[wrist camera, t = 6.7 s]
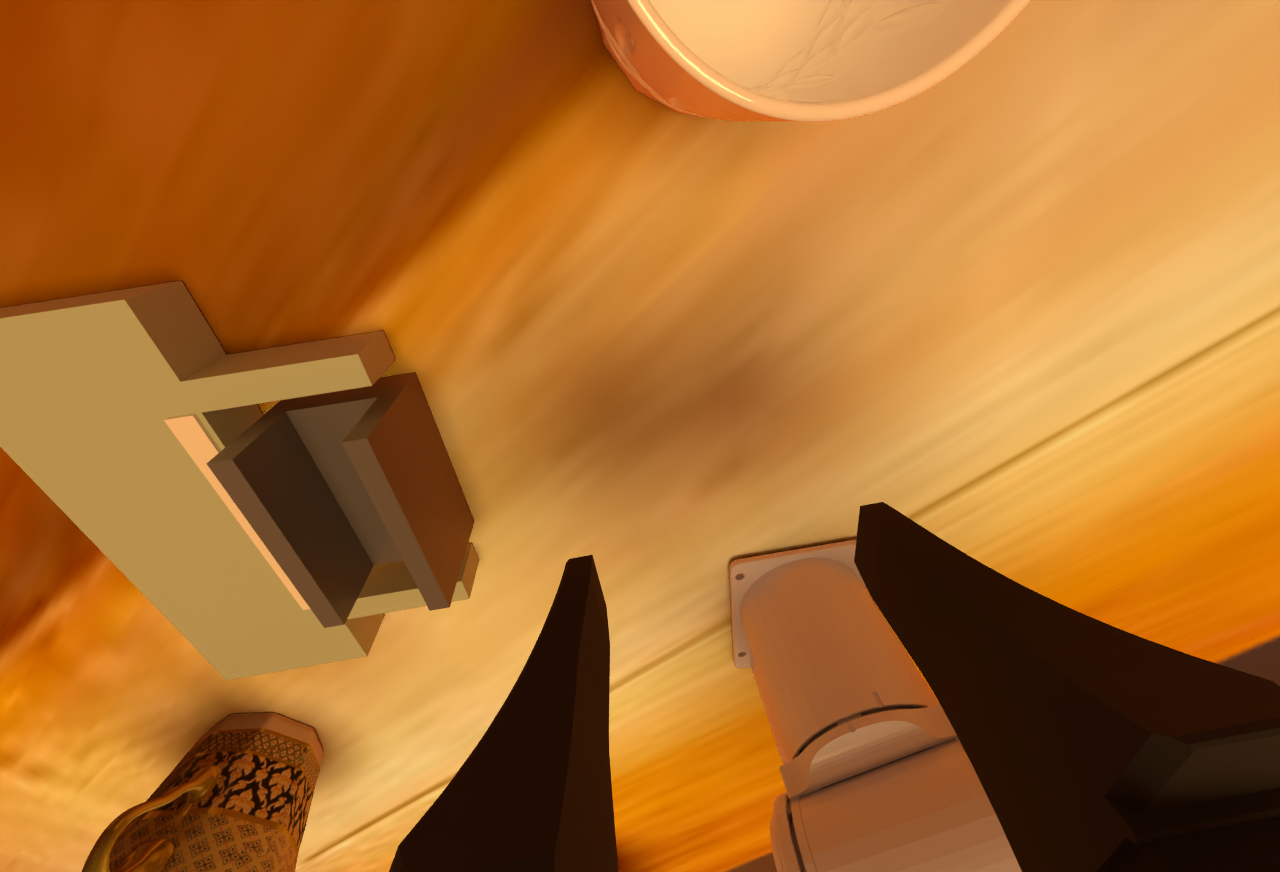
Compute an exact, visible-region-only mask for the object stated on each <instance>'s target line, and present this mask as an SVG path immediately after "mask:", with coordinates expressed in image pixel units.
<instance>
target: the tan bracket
mask: <svg viewBox="0 0 1280 872" xmlns="http://www.w3.org/2000/svg"><path fill="white" fill-rule="evenodd" d="M394 360H395V357H394V355H393V352H392V350H391V347H390V345H389V343H388V340H387V338H386V335H385V333H384V331H376V332H370V333H364V334H357V335H351V336H344V337H338V338H331V339H325V340H318V341H312V342H305V343H299V344H293V345H286V346H280V347H273V348H267V349H260V350H254V351H247V352H241V353H234V354H228V355H226V353H225V351H224V350H223V348H222V346H221V345H220V343H219V341H218V340H217V338H216V336H215V335H214V333H213V331H212V330H211V328H210V327H209V325H208V323H207V322H206V320H205V318H204V317H203V315H202V313H201V312H200V310H199V308H198V307H197V305H196V303H195V302H194V300H193V298H192V297H191V295H190V294H189V292H188V290H187V289H186V287H185V285H184V284H183V282H182V281H175V282H169V283H162V284H156V285H149V286H142V287H136V288H129V289H123V290H116V291H109V292H103V293H96V294H89V295H83V296H76V297H70V298H63V299H56V300H50V301H43V302H37V303H30V304H23V305H17V306H10V307H3V308H0V447H1V448H2V449H3V450H4V451H5V452H6V453H7V454H8V455H9V456H10V457H11V458H12V459H13V460H14V461H15V462H16V463H17V464H18V465H19V466H20V467H21V468H22V469H23V470H24V471H25V472H26V474H27V475H28V476H29V477H30V478H31V479H32V480H33V481H34V482H35V483H36V484H37V485H38V486H39V487H40V488H41V489H42V490H43V491H44V492H45V493H46V494H47V495H48V496H49V497H50V498H51V499H52V500H53V501H54V502H55V504H56V505H57V506H58V507H59V508H60V509H61V510H62V511H63V512H64V513H65V514H66V515H67V516H68V517H69V518H70V519H71V520H72V521H73V522H74V523H75V524H76V525H77V526H78V527H79V528H80V529H81V530H82V531H83V533H84V534H85V535H86V536H87V537H88V538H89V539H90V540H91V541H92V542H93V543H94V544H95V545H96V546H97V547H98V548H99V549H100V550H101V551H102V552H103V553H104V554H105V555H106V556H107V557H108V558H109V559H110V560H111V561H112V563H113V564H114V565H115V566H116V567H117V568H118V569H119V570H120V571H121V572H122V573H123V574H124V575H125V576H126V577H127V578H128V579H129V580H130V581H131V582H132V583H133V584H134V585H135V586H136V587H137V588H138V589H139V590H140V591H141V593H142V594H143V595H144V596H145V597H146V598H147V599H148V600H149V601H150V602H151V603H152V604H153V605H154V606H155V607H156V608H157V609H158V610H159V611H160V612H161V613H162V614H163V615H164V616H165V617H166V618H167V619H168V620H169V621H170V623H171V624H172V625H173V626H174V627H175V628H176V629H177V630H178V631H179V632H180V633H181V634H182V635H183V636H184V637H185V638H186V639H187V640H188V641H189V642H190V643H191V644H192V645H193V646H194V647H195V648H196V649H197V650H198V651H199V653H200V654H201V655H202V656H203V657H204V658H205V659H206V660H207V661H208V662H209V663H210V664H211V665H212V666H213V667H214V668H215V669H216V670H217V671H218V672H219V673H220V674H221V675H222V676H223V677H224V678H225V679H226V680H232V679H238V678H244V677H250V676H255V675H261V674H267V673H273V672H279V671H285V670H291V669H297V668H302V667H308V666H314V665H320V664H326V663H332V662H338V661H344V660H350V659H355V658H361V657H367V656H368V654H369V651H370V649H371V646H372V644H373V642H374V639H375V637H376V635H377V632H378V630H379V628H380V625H381V623H382V620H383V618H384V616H385V615H384V613H388V612H394V611H400V610H406V609H411V608H417V607H423V606H427V604H426V603H425V601H424V599H423V597H422V595H421V593H420V591H419V589H418V587H417V585H416V584H415V582H414V580H413V578H412V576H411V574H410V572H409V570H408V568H407V566H406V565H405V563H404V561H397V562H391V563H385V564H379V565H374V566H373V568H372V570H371V572H370V574H369V576H368V578H367V580H366V582H365V584H364V586H363V588H362V590H361V592H360V594H359V596H358V598H357V600H356V602H355V604H354V606H353V608H352V610H351V612H350V614H349V616H348V618H347V620H346V622H345V625H339V626H333V627H327V628H324V627H323V626H322V624H321V623H320V621H319V620H318V619H317V617H316V616H315V614H314V613H313V612H312V610H311V609H310V607H309V606H308V605H307V603H306V602H305V601H304V599H303V598H302V596H301V595H300V594H299V592H298V591H297V589H296V588H295V587H294V585H293V584H292V582H291V581H290V580H289V578H288V577H287V575H286V574H285V573H284V571H283V570H282V568H281V567H280V566H279V564H278V563H277V561H276V560H275V559H274V557H273V556H272V555H271V553H270V552H269V550H268V549H267V548H266V546H265V545H264V543H263V542H262V541H261V539H260V538H259V536H258V535H257V534H256V532H255V531H254V529H253V528H252V527H251V525H250V524H249V522H248V521H247V520H246V518H245V517H244V515H243V514H242V513H241V511H240V510H239V509H238V507H237V506H236V504H235V503H234V502H233V500H232V499H231V497H230V496H229V495H228V493H227V492H226V490H225V489H224V488H223V486H222V485H221V483H220V482H219V481H218V479H217V478H216V476H215V475H214V474H213V472H212V471H211V470H210V468H209V467H208V465H207V464H206V463H208V462H209V461H210V460H211V459H212V458H214V457H215V456H216V455H217V454H218V453H219V452H221V451H222V450H223V449H224V448H225V447H227V446H228V445H229V444H230V443H231V442H232V441H234V440H235V439H236V438H237V437H238V436H240V435H241V434H242V433H243V432H244V431H246V430H247V429H248V428H249V427H250V426H251V425H253V424H254V423H255V422H256V421H257V420H259V419H260V418H261V417H262V416H263V414H262V412H261V411H260V409H259V407H258V406H257V404H259V403H266V402H272V401H279V400H285V399H291V398H298V397H304V396H310V395H317V394H323V393H329V392H336V391H342V390H348V389H355V388H361V387H367V386H372V385H373V384H374V383H375V382H376V381H377V380H378V379H379V378H380V376H381V375H382V374H383V373H384V372H385V371H386V370H387V368H388V367H389V366H390V365H391V364H392V363H393V362H394ZM478 562H479V559H478V557H477V554H476V552H475V549H474V547H473V545H472V543H471V544H468V545H467V549H466V552H465V556H464V559H463V563H462V566H461V570H460V573H459V577H458V580H457V584H456V587H455V590H454V594H453V597H452V601H451V602H453V601H459V600H465V599H470V595H471V591H472V587H473V583H474V579H475V574H476V570H477V566H478Z"/></svg>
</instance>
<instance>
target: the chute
mask: <svg viewBox="0 0 1280 872" xmlns="http://www.w3.org/2000/svg"><path fill="white" fill-rule="evenodd" d="M206 464H207V465H208V467H209V468H210V470H211V471H212V472H213V474H214V475H215V476H216V478H217V479H218V481H219V482H220V483H221V485H222V486H223V488H224V489H225V490H226V492H227V493H228V495H229V496H230V497H231V499H232V500H233V502H234V503H235V504H236V506H237V507H238V509H239V510H240V511H241V513H242V514H243V515H244V517H245V518H246V520H247V521H248V522H249V524H250V525H251V527H252V528H253V529H254V531H255V532H256V534H257V535H258V536H259V538H260V539H261V541H262V542H263V543H264V545H265V546H266V548H267V549H268V550H269V552H270V553H271V555H272V556H273V557H274V559H275V560H276V561H277V563H278V564H279V566H280V567H281V568H282V570H283V571H284V573H285V574H286V575H287V577H288V578H289V580H290V581H291V582H292V584H293V585H294V587H295V588H296V589H297V591H298V592H299V594H300V595H301V596H302V598H303V599H304V601H305V602H306V603H307V605H308V606H309V607H310V609H311V610H312V612H313V613H314V614H315V616H316V617H317V619H318V620H319V621H320V623H321V624H322V626H323V627H324V628H327V627H333V626H339V625H345V622H346V620H347V618H348V616H349V614H350V612H351V610H352V608H353V606H354V604H355V602H356V600H357V598H358V596H359V594H360V592H361V590H362V588H363V586H364V584H365V582H366V580H367V578H368V576H369V574H370V572H371V570H372V568H373V566H374V565H379V564H385V563H391V562H397V561H404V563H405V565H406V566H407V568H408V570H409V572H410V574H411V576H412V578H413V580H414V582H415V584H416V585H417V587H418V589H419V591H420V593H421V595H422V597H423V599H424V601H425V603H426V604H427V606H428V608H429V610H436V609H442V608H448V607H450V604H451V601H452V597H453V594H454V590H455V587H456V584H457V580H458V577H459V573H460V570H461V566H462V563H463V559H464V556H465V552H466V549H467V545H468V542H469V538H470V535H471V531H472V528H473V524H474V519H473V516H472V514H471V511H470V509H469V506H468V504H467V501H466V499H465V496H464V493H463V491H462V488H461V486H460V483H459V481H458V478H457V476H456V473H455V471H454V468H453V466H452V463H451V461H450V458H449V456H448V453H447V450H446V448H445V445H444V443H443V440H442V438H441V435H440V433H439V430H438V428H437V425H436V423H435V420H434V418H433V415H432V412H431V410H430V407H429V405H428V402H427V400H426V397H425V395H424V392H423V390H422V387H421V385H420V382H419V380H418V377H417V375H416V372H414V373H408V374H401V375H395V376H388V377H382V378H379V379H378V380H377V381H376V382H375V383H374V384H373V385H372V386H367V387H361V388H355V389H348V390H342V391H336V392H329V393H323V394H317V395H310V396H304V397H298V398H291V399H285V400H281V401H280V402H279V403H277V404H276V405H275V406H274V407H273V408H272V409H270V410H269V411H268V412H267V413H266V414H264V415H263V416H262V417H261V418H260V419H259V420H257V421H256V422H255V423H254V424H253V425H251V426H250V427H249V428H248V429H247V430H246V431H244V432H243V433H242V434H241V435H240V436H238V437H237V438H236V439H235V440H234V441H232V442H231V443H230V444H229V445H228V446H227V447H225V448H224V449H223V450H222V451H221V452H219V453H218V454H217V455H216V456H215V457H214V458H212V459H211V460H210V461H209V462H208V463H206Z"/></svg>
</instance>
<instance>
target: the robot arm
mask: <svg viewBox="0 0 1280 872" xmlns="http://www.w3.org/2000/svg"><path fill="white" fill-rule="evenodd" d="M729 573H730V597H731V620H732V644H733V661H734V665H735V667H737V668H747V667H751V668H752V671H753V674H754V677H755V680H756V683H757V686H758V689H759V692H760V696H761V699H762V702H763V705H764V708H765V711H766V714H767V717H768V720H769V723H770V726H771V729H772V733H773V736H774V739H775V742H776V745H777V748H778V751H779V754H780V756H781V758H782V761H783V763H784V765H781V766H780V771H781V774H782V778H783V781H784V784H785V787H786V790H787V792H786V793H783V794H781V795H779V796H777V797H776V799H775V802H774V808H773V814H772V818H771V822H770V836H771V844H772V850H773V855H774V860H775V863H776V868H777V872H1280V686H1278V685H1277V684H1276V683H1274V682H1273V681H1270V680H1267V679H1264V678H1261V677H1257V676H1254V675H1251V674H1248V673H1245V672H1242V671H1238V670H1235V669H1232V668H1229V667H1226V666H1222V665H1219V664H1216V663H1213V662H1210V661H1207V660H1203V659H1200V658H1197V657H1194V656H1191V655H1188V654H1185V653H1183V652H1180V651H1177V650H1174V649H1171V648H1169V647H1166V646H1163V645H1160V644H1157V643H1155V642H1152V641H1149V640H1146V639H1144V638H1141V637H1139V636H1136V635H1133V634H1131V633H1128V632H1125V631H1123V630H1120V629H1118V628H1115V627H1113V626H1111V625H1108V624H1106V623H1103V622H1101V621H1099V620H1096V619H1094V618H1091V617H1089V616H1087V615H1084V614H1082V613H1080V612H1077V611H1075V610H1073V609H1071V608H1068V607H1066V606H1064V605H1062V604H1059V603H1057V602H1055V601H1053V600H1051V599H1049V598H1047V597H1045V596H1043V595H1041V594H1039V593H1037V592H1035V591H1033V590H1030V589H1028V588H1026V587H1024V586H1022V585H1021V584H1019V583H1017V582H1015V581H1013V580H1011V579H1009V578H1007V577H1005V576H1004V575H1002V574H1000V573H998V572H996V571H994V570H993V569H991V568H989V567H987V566H985V565H984V564H982V563H980V562H978V561H977V560H975V559H973V558H972V557H970V556H968V555H966V554H965V553H963V552H961V551H960V550H958V549H956V548H955V547H953V546H952V545H950V544H948V543H947V542H945V541H943V540H942V539H940V538H939V537H937V536H935V535H934V534H932V533H931V532H929V531H928V530H926V529H925V528H923V527H921V526H920V525H918V524H917V523H915V522H914V521H912V520H911V519H909V518H907V517H906V516H904V515H903V514H901V513H900V512H898V511H897V510H895V509H893V508H892V507H890V506H889V505H887V504H885V503H884V502H880V503H875V504H869V505H864V506H860V513H859V522H858V531H857V539H856V540H850V541H844V542H838V543H832V544H826V545H820V546H814V547H808V548H802V549H796V550H790V551H784V552H778V553H772V554H766V555H760V556H755V557H749V558H743V559H737V560H734V561H733V562H732V563H731V564H730V566H729ZM740 573H741V574H740ZM737 574H739V575H737ZM866 587H867V589H868V591H869V593H870V595H871V597H872V598H873V600H874V601H875V603H876V605H877V606H878V608H879V609H880V611H881V612H882V614H883V615H884V617H885V618H886V620H887V621H888V623H889V624H890V626H891V627H892V629H893V630H894V632H895V633H896V635H897V636H898V638H899V639H900V641H901V642H902V644H903V645H904V647H905V648H906V650H907V651H908V653H909V654H910V656H911V657H912V659H913V660H914V662H915V663H916V665H917V666H918V668H919V669H920V671H921V672H922V674H923V676H924V677H925V679H926V680H927V682H928V684H929V685H930V687H931V689H932V690H933V692H934V694H935V696H936V697H937V699H938V701H939V703H938V702H937V700H936V698H935V697H934V695H933V694H932V692H931V691H930V689H929V687H928V686H927V684H926V683H925V681H924V680H923V678H922V677H921V675H920V673H919V672H918V670H917V669H916V667H915V666H914V664H913V663H912V661H911V659H910V658H909V656H908V655H907V653H906V652H905V650H904V648H903V647H902V645H901V644H900V642H899V641H898V639H897V638H896V636H895V634H894V633H893V631H892V630H891V628H890V627H889V625H888V624H887V622H886V620H885V619H884V617H883V616H882V614H881V613H880V611H879V609H878V608H877V606H876V605H875V603H874V602H873V600H872V599H871V597H870V595H869V594H868V592H867V591H866ZM609 676H610V641H609V629H608V618H607V608H606V603H605V600H604V596H603V592H602V589H601V585H600V581H599V578H598V574H597V571H596V567H595V563H594V560H593V556H592V555H589V556H583V557H578V558H572V559H569V560H568V561H567V563H566V566H565V569H564V573H563V576H562V579H561V582H560V585H559V588H558V591H557V594H556V596H555V599H554V602H553V604H552V607H551V609H550V612H549V614H548V617H547V619H546V621H545V624H544V626H543V629H542V631H541V633H540V635H539V638H538V640H537V642H536V644H535V646H534V648H533V650H532V652H531V654H530V656H529V658H528V661H527V663H526V665H525V667H524V668H523V670H522V672H521V674H520V676H519V678H518V680H517V682H516V683H515V685H514V687H513V689H512V690H511V692H510V694H509V696H508V697H507V699H506V701H505V703H504V704H503V706H502V707H501V709H500V711H499V712H498V714H497V715H496V717H495V719H494V720H493V722H492V723H491V725H490V727H489V728H488V730H487V731H486V733H485V734H484V736H483V737H482V739H481V740H480V742H479V743H478V745H477V746H476V748H475V749H474V750H473V752H472V753H471V754H470V756H469V757H468V758H467V760H466V761H465V763H464V764H463V765H462V767H461V768H460V769H459V771H458V772H457V774H456V775H455V776H454V778H453V779H452V780H451V782H450V783H449V785H448V786H447V787H446V788H445V790H444V791H443V792H442V794H441V795H440V796H439V797H438V799H437V800H436V801H435V802H434V803H433V805H432V806H431V807H430V808H429V810H428V811H427V812H426V813H425V814H424V816H423V817H422V818H421V819H420V820H419V822H418V823H417V824H416V825H415V827H414V828H413V829H412V830H411V831H410V833H409V834H408V835H407V836H406V837H405V839H404V840H403V841H402V842H401V843H400V845H399V846H398V849H397V852H396V854H395V857H394V860H393V862H392V865H391V868H390V870H389V872H618V860H617V849H616V837H615V825H614V812H613V799H612V786H611V772H610V758H609Z"/></svg>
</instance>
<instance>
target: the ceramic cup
mask: <svg viewBox="0 0 1280 872" xmlns="http://www.w3.org/2000/svg"><path fill="white" fill-rule="evenodd" d="M322 757H323V752H322V747H321V745H320V742H319V740H318V738H317V735H316V733H315V731H314V729H313V728H312V727H310V726H307V725H305V724H302V723H300V722H297V721H294V720H292V719H289V718H287V717H284V716H281V715H279V714H276V713H273V712H269V713H247V714H230V715H228V716H227V717H226V718H225V719H223V720H222V721H221V722H219V723H218V724H217V725H216V726H214V727H213V728H212V729H211V730H209V731H208V732H207V733H206V734H205V735H203V736H202V737H201V738H200V739H199V740H198V742H197V743H196V744H195V745H194V746H193V747H192V749H191V750H190V751H189V752H188V753H187V754H186V755H185V756H184V758H183V759H182V760H181V761H180V762H179V764H178V765H177V766H176V767H175V769H174V770H173V771H172V772H171V773H170V775H169V776H168V777H167V778H166V779H165V780H164V781H163V782H162V784H161V785H160V786H159V787H158V788H157V789H156V791H155V792H154V793H153V794H152V795H151V796H150V798H149V799H148V800H147V801H146V802H144V803H141V804H139V805H137V806H134V807H132V808H130V809H128V810H126V811H125V812H123V813H122V814H121V815H119V816H118V817H117V818H116V819H115V820H114V821H112V822H111V824H110V825H109V826H108V827H107V828H106V829H105V830H104V832H103V833H102V834H101V836H100V837H99V839H98V840H97V842H96V844H95V845H94V847H93V849H92V850H91V852H90V854H89V856H88V858H87V860H86V862H85V865H84V867H83V870H82V872H295V868H296V862H297V857H298V851H299V848H300V844H301V841H302V837H303V834H304V830H305V826H306V822H307V818H308V814H309V810H310V806H311V802H312V797H313V793H314V789H315V785H316V781H317V778H318V774H319V770H320V765H321V761H322Z"/></svg>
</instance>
